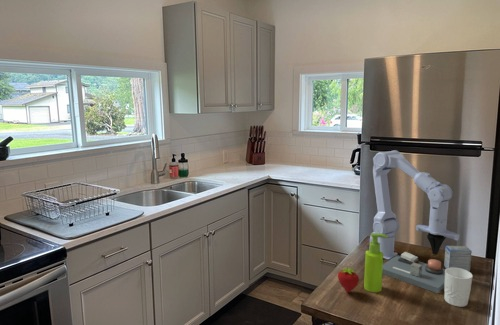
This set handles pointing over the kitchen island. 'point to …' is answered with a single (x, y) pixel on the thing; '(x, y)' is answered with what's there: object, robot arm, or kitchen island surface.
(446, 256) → the medicine box
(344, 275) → the strawberry
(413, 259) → the rocker switch
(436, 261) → the push button
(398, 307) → the kitchen island surface
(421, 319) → the kitchen island surface
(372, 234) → the soap dispenser
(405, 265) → the panel
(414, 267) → the slider knob
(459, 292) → the white cup
